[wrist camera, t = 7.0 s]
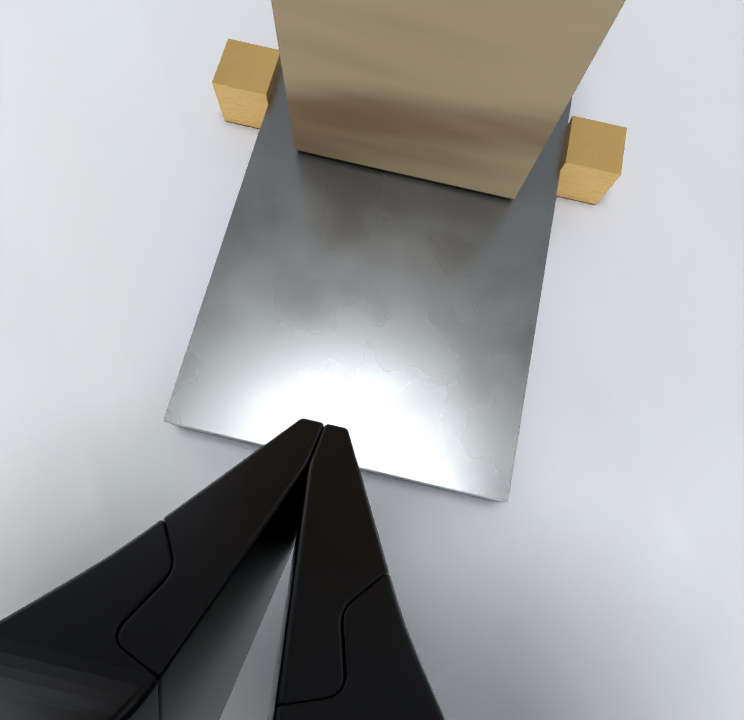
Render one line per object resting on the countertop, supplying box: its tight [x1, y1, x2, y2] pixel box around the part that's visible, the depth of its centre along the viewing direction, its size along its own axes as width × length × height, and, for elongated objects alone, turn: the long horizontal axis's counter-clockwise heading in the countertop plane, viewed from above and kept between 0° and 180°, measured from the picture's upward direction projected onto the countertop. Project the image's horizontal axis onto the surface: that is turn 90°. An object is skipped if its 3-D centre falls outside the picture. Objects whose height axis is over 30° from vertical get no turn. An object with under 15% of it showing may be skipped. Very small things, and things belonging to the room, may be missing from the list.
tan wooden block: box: [271, 0, 626, 199], centre depth 16 cm, size 6×8×8 cm
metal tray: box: [163, 39, 627, 502], centre depth 19 cm, size 22×15×4 cm
